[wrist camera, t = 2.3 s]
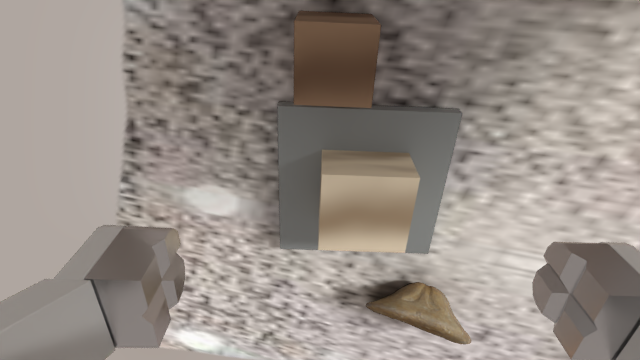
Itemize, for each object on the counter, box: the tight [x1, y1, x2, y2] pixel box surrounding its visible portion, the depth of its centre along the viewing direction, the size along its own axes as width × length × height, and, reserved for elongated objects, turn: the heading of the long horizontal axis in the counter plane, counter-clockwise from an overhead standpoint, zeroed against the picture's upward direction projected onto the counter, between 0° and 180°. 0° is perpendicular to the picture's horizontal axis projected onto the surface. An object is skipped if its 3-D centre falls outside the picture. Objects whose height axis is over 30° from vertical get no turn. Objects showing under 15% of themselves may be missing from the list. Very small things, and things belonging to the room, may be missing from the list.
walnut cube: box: [294, 11, 381, 108], centre depth 25 cm, size 5×5×5 cm
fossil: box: [366, 282, 471, 344], centre depth 37 cm, size 9×4×10 cm
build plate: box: [277, 102, 462, 254], centre depth 32 cm, size 14×14×1 cm
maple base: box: [318, 150, 420, 253], centre depth 30 cm, size 7×7×4 cm
